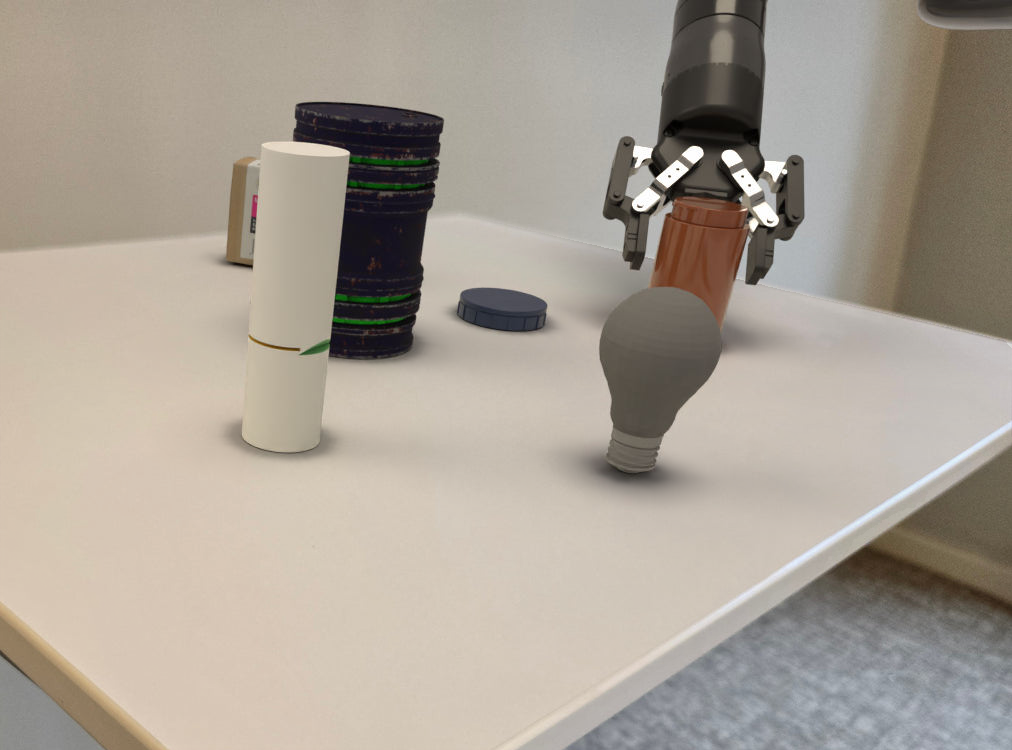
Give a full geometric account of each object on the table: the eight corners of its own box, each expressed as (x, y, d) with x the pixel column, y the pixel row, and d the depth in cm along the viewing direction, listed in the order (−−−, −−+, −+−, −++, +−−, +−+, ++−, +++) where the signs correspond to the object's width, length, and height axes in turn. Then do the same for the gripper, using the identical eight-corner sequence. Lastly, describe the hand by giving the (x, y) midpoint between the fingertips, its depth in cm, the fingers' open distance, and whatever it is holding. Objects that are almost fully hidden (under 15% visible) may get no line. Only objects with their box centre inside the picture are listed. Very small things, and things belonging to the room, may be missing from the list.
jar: (663, 324, 87) (696, 193, 82) (731, 345, 83) (770, 209, 78) (621, 334, 83) (653, 197, 78) (690, 356, 79) (728, 214, 74)
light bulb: (653, 448, 62) (698, 275, 57) (705, 493, 57) (759, 307, 52) (556, 447, 61) (593, 271, 56) (600, 493, 56) (646, 303, 51)
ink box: (223, 263, 92) (229, 161, 88) (238, 254, 95) (244, 155, 92) (338, 281, 90) (349, 177, 86) (349, 272, 93) (360, 171, 89)
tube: (249, 452, 57) (270, 153, 50) (235, 422, 60) (254, 139, 53) (327, 452, 57) (360, 158, 50) (310, 422, 61) (337, 144, 54)
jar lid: (473, 329, 81) (476, 310, 80) (446, 304, 86) (448, 285, 86) (557, 332, 82) (561, 313, 81) (525, 307, 88) (528, 288, 87)
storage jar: (302, 361, 71) (324, 119, 64) (257, 317, 79) (273, 98, 72) (438, 357, 74) (473, 126, 67) (381, 315, 82) (408, 105, 75)
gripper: (631, 49, 82) (608, 231, 77) (825, 69, 80) (814, 256, 76) (610, 116, 89) (589, 286, 85) (788, 135, 87) (776, 310, 83)
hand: (695, 272), depth 80 cm, fingers open, 8 cm apart
